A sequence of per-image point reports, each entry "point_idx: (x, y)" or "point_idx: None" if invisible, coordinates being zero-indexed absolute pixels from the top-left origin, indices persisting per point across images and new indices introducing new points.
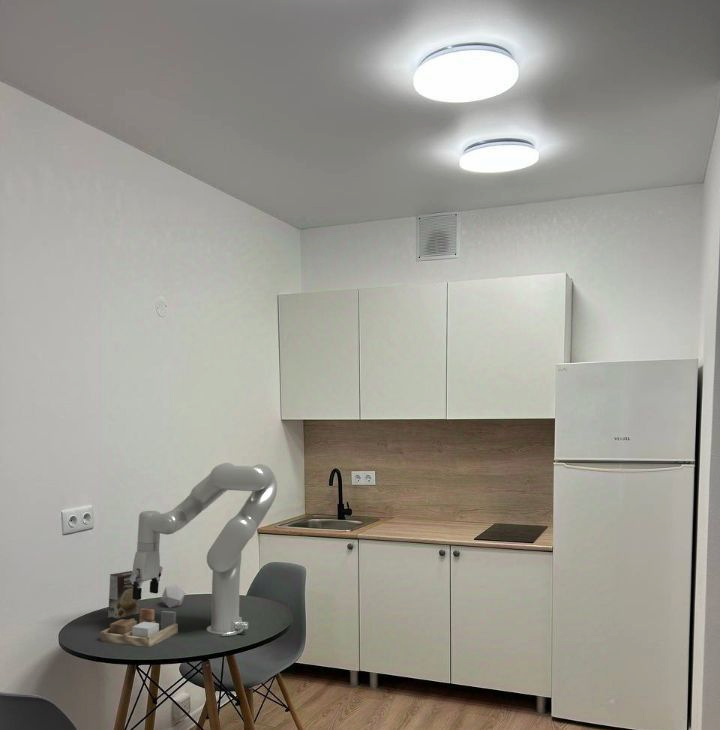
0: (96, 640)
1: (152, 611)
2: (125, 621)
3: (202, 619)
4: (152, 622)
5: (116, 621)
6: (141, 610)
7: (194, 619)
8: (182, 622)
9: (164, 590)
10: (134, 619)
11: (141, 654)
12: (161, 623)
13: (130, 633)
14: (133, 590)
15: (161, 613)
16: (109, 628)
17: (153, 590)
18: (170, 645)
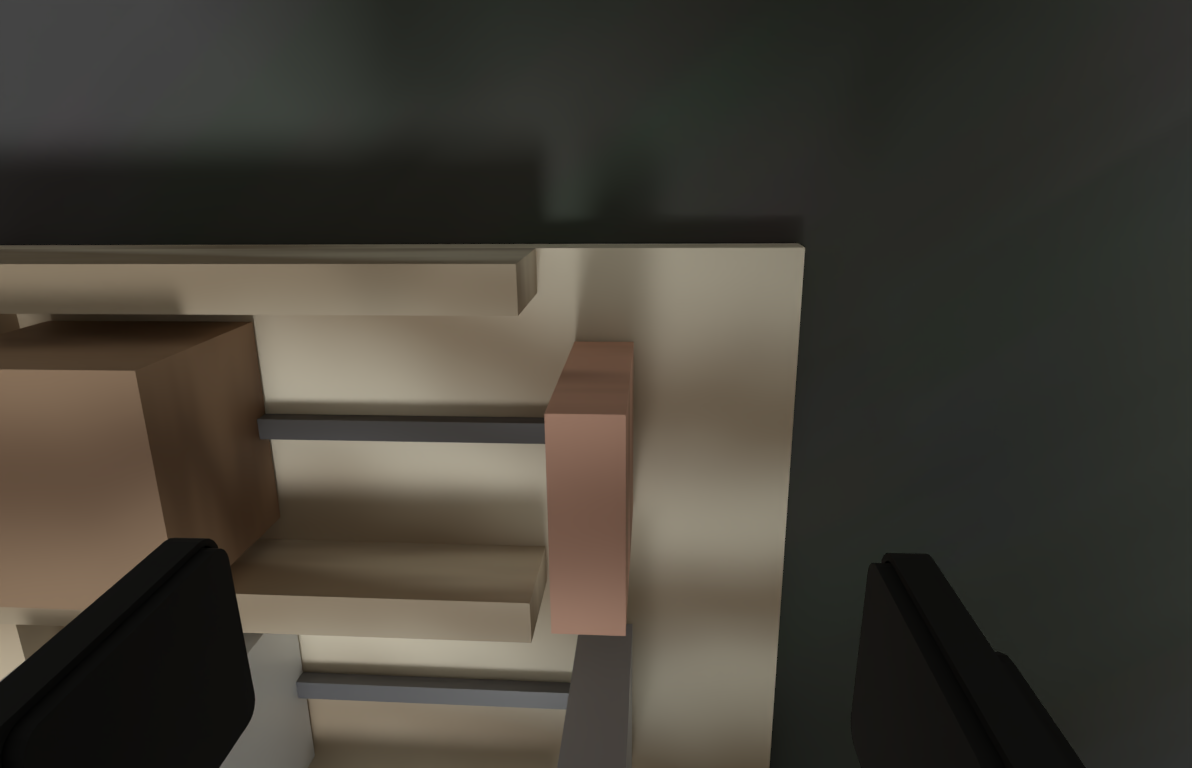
0: (58, 102)
1: (572, 622)
2: (78, 493)
3: (1167, 757)
4: (470, 632)
5: (8, 372)
6: (547, 441)
7: (1152, 683)
8: (1004, 621)
9: None
10: (515, 314)
11: None
12: (573, 673)
13: (42, 621)
14: (29, 683)
15: (559, 762)
16: (13, 278)
17: (877, 696)
18: None
